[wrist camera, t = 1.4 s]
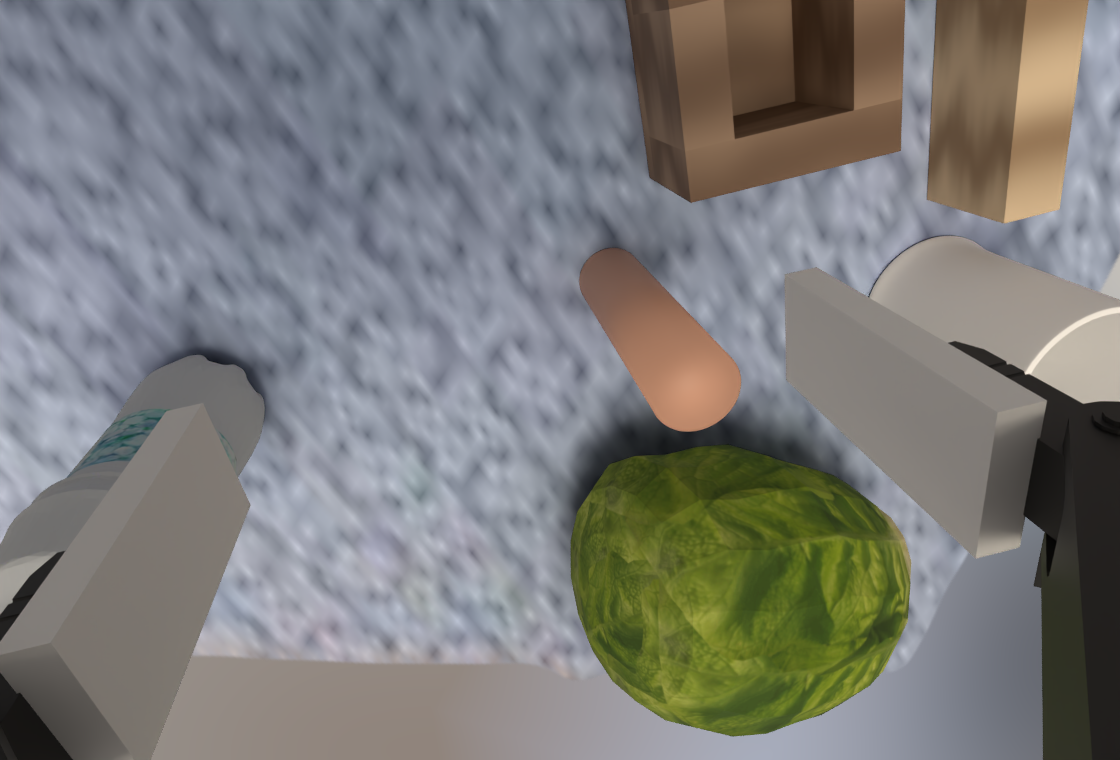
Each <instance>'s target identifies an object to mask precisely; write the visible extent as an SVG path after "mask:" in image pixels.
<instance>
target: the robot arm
mask: <svg viewBox="0 0 1120 760" xmlns="http://www.w3.org/2000/svg"><path fill="white" fill-rule="evenodd" d="M785 326H786V380H787V381H788V382H789V383H790V384H791V385H792V386H793V387H794V388H795V389H796V390H797V391H798V392H800V393H801V394H802V395H803V396H804V397H805V398H806V399H807V400H808V401H809V402H810V403H811V404H812V405H813V406H814V407H815V408H816V409H818V410H819V411H820V412H821V413H822V414H823V415H824V416H825V417H826V418H827V419H828V420H829V421H830V422H831V423H832V424H833V425H834V426H836V427H837V428H838V429H839V430H840V431H841V432H842V433H843V434H844V435H845V436H846V437H847V438H848V439H849V440H850V441H851V442H853V443H854V444H855V445H856V446H857V447H858V448H859V449H860V450H861V451H862V452H863V453H864V454H865V455H866V456H867V457H868V458H869V459H871V460H872V461H873V462H874V463H875V464H876V465H877V466H878V467H879V468H880V469H881V470H882V471H883V472H884V473H885V474H886V475H887V476H889V477H890V478H891V479H892V480H893V481H894V482H895V483H896V484H897V485H898V486H899V487H900V488H901V489H902V490H903V491H904V492H905V493H907V494H908V495H909V496H910V497H911V498H912V499H913V500H914V501H915V502H916V503H917V504H918V505H919V506H920V507H921V508H922V509H924V510H925V511H926V512H927V513H928V514H929V515H930V516H931V517H932V518H933V519H934V520H935V521H936V522H937V523H938V524H939V525H940V526H942V527H943V528H944V529H945V530H946V531H947V532H948V533H949V534H950V535H951V536H952V537H953V538H954V539H955V540H956V541H957V542H958V543H960V544H961V545H962V546H963V547H964V548H965V549H966V550H967V551H968V552H969V553H970V554H971V555H972V556H973V557H974V558H980V557H984V556H988V555H991V554H995V553H999V552H1003V551H1007V550H1011V549H1015V548H1019V547H1020V542H1021V536H1022V531H1023V525H1024V520H1025V517H1027V518H1028V519H1029V520H1030V521H1032V522H1033V523H1034V524H1036V525H1037V526H1038V527H1040V528H1041V529H1042V530H1043V531H1044V532H1045V533H1044V539H1043V543H1042V548H1041V553H1040V557H1039V562H1038V567H1037V572H1036V577H1035V582H1034V586H1036V587H1040V588H1041V595H1042V597H1041V598H1042V689H1043V690H1042V695H1043V696H1042V697H1043V760H1120V402H1118V401H1097V402H1091V403H1085V404H1083V403H1081V402H1079V401H1077V400H1076V399H1074V398H1072V397H1070V396H1068V395H1067V394H1065V393H1063V392H1061V391H1059V390H1057V389H1056V388H1054V387H1052V386H1050V385H1048V384H1047V383H1045V382H1043V381H1041V380H1039V379H1038V378H1036V377H1034V376H1032V375H1030V374H1026V375H1025V373H1024V371H1023V370H1021V369H1019V368H1018V367H1016V366H1014V365H1012V364H1007V363H1006V361H1005V360H1003V359H1001V358H999V357H998V356H996V355H994V354H992V353H990V352H988V351H987V350H985V349H982V348H978V347H975V346H971V345H968V344H964V343H961V342H957V341H953V342H949V343H947V342H945V341H943V340H941V339H940V338H938V337H936V336H934V335H933V334H931V333H929V332H927V331H926V330H924V329H922V328H921V327H919V326H917V325H915V324H914V323H912V322H910V321H908V320H907V319H905V318H903V317H902V316H900V315H898V314H896V313H895V312H893V311H891V310H889V309H888V308H886V307H884V306H882V305H881V304H879V303H877V302H876V301H874V300H872V299H870V298H869V297H867V296H865V295H863V294H862V293H860V292H858V291H857V290H855V289H853V288H851V287H850V286H848V285H846V284H844V283H843V282H841V281H839V280H837V279H836V278H834V277H832V276H831V275H829V274H827V273H825V272H824V271H822V270H820V269H818V268H817V267H816V268H811V269H807V270H802V271H798V272H793V273H789V274H785ZM249 508H250V503H249V501H248V498H247V496H246V494H245V492H244V490H243V488H242V486H241V484H240V481H239V479H238V477H237V475H236V473H235V471H234V469H233V466H232V464H231V462H230V460H229V458H228V456H227V454H226V451H225V449H224V447H223V445H222V443H221V441H220V439H219V436H218V434H217V432H216V430H215V428H214V426H213V424H212V422H211V419H210V417H209V415H208V413H207V411H206V409H205V407H204V404H203V403H200V404H196V405H191V406H187V407H182V408H178V409H173V410H169V411H166V412H165V414H164V415H163V416H162V418H161V419H160V421H159V422H158V423H157V425H156V426H155V428H154V429H153V430H152V432H151V433H150V435H149V436H148V437H147V439H146V440H145V441H144V443H143V444H142V446H141V447H140V448H139V450H138V451H137V453H136V454H135V455H134V457H133V458H132V459H131V461H130V462H129V464H128V465H127V466H126V468H125V469H124V471H123V472H122V473H121V475H120V476H119V478H118V479H117V480H116V482H115V483H114V484H113V486H112V487H111V489H110V490H109V491H108V493H107V494H106V496H105V497H104V498H103V500H102V501H101V502H100V504H99V505H98V507H97V508H96V509H95V511H94V512H93V514H92V515H91V516H90V518H89V519H88V521H87V522H86V523H85V525H84V526H83V527H82V529H81V530H80V532H79V533H78V534H77V536H76V537H75V539H74V540H73V541H72V543H71V544H70V545H69V547H68V548H67V550H66V551H62V552H57V553H56V554H55V555H54V556H53V557H51V558H50V559H49V560H48V561H47V562H45V563H44V564H43V565H42V566H41V567H40V568H38V569H37V570H36V571H35V572H34V573H32V574H31V575H30V576H29V577H28V579H27V580H26V581H25V583H24V584H23V585H22V587H21V588H20V589H19V591H18V592H17V593H16V595H15V596H14V597H13V599H12V601H13V603H10V604H8V605H7V607H6V608H5V609H4V611H3V612H2V613H1V614H0V760H151V758H152V755H153V753H154V750H155V748H156V745H157V743H158V740H159V737H160V735H161V732H162V730H163V727H164V725H165V722H166V720H167V717H168V715H169V712H170V709H171V707H172V704H173V702H174V699H175V696H176V694H177V691H178V689H179V686H180V684H181V681H182V679H183V676H184V674H185V671H186V669H187V666H188V663H189V661H190V658H191V656H192V653H193V651H194V648H195V646H196V643H197V640H198V638H199V635H200V633H201V630H202V628H203V625H204V623H205V620H206V617H207V615H208V612H209V610H210V607H211V605H212V602H213V600H214V597H215V594H216V592H217V589H218V587H219V584H220V582H221V579H222V577H223V574H224V571H225V569H226V566H227V564H228V561H229V559H230V556H231V554H232V551H233V548H234V546H235V543H236V541H237V538H238V536H239V533H240V531H241V528H242V525H243V523H244V520H245V518H246V515H247V513H248V510H249Z"/></svg>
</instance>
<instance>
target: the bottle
mask: <svg viewBox="0 0 1120 760" xmlns="http://www.w3.org/2000/svg"><path fill="white" fill-rule="evenodd" d="M200 403H203V404H204V407H205V409H206V411H207V413H208V415H209V417H210V419H211V422H212V424H213V426H214V428H215V430H216V432H217V434H218V436H219V439H220V441H221V443H222V445H223V447H224V449H225V451H226V454H227V456H228V458H229V460H230V462H231V464H232V466H233V469H234V471H235V473H236V475H237V477H238V476H239V475H240V473H241V472H242V470H243V468H244V467H245V465H246V463H247V462H248V460H249V458H250V457H251V455H252V453H253V451H254V449H255V447H256V445H257V443H258V441H259V438H260V435H261V432H262V427H263V422H264V415H265V406H264V400H263V398H262V396H261V395H260V394H259V393H258V392H255V390H254V389H253V387H252V386H251V385H250V383H249V381H248V380H247V378H246V374H245V372H244V370H243V369H241V368H240V367H238V366H236V365H233V364H231V365H221V364H218V363H214V362H211V361H208V360H207V359H206V358H205V357H204V356H202V355H191V356H187V357H184V358H182V359H180V360H178V361H175V362H173V363H170V364H168V365H165V366H163V367H161V368H159V369H157V370H155V371H153V372H152V373H151V374H149V375H148V376H147V377H146V378H145V379H144V380H143V381H142V382H141V383H140V384H139V385H138V387H137V388H136V389H135V391H134V392H133V393H132V395H131V396H130V397H129V399H128V400H127V402H126V403H125V405H124V406H123V408H122V409H121V411H120V413H119V414H118V416H117V417H116V419H115V420H114V422H113V423H112V425H111V426H110V427H109V428H108V429H107V430H106V431H105V433H104V434H103V435H102V436H101V437H100V438H99V440H98V441H97V442H96V443H95V444H94V446H93V447H92V448H91V449H90V450H89V451H88V453H87V454H86V455H85V456H84V457H83V459H82V460H81V461H80V462H79V463H78V465H77V466H76V467H75V468H74V469H73V470H72V472H71V473H70V474H69V475H68V476H67V478H65V479H63V480H61V481H59V482H57V483H55V484H53V485H51V486H50V487H48V488H47V489H46V490H44V491H43V492H42V493H40V495H39V496H38V497H37V498H36V499H35V500H34V501H33V502H32V504H31V505H30V506H29V507H28V508H26V509H25V510H24V511H22V512H21V513H20V514H19V515H18V516H17V517H16V518H15V519H14V521H13V522H12V523H11V525H10V526H9V528H8V530H7V532H6V534H5V536H4V539H3V541H2V542H1V544H0V614H1V613H2V612H3V611H4V609H5V608H6V607H7V605H8V604H10V603H13V601H12V599H13V597H14V596H15V595H16V593H17V592H18V591H19V589H20V588H21V587H22V585H23V584H24V583H25V581H26V580H27V579H28V577H29V576H30V575H31V574H32V573H34V572H35V571H36V570H37V569H38V568H40V567H41V566H42V565H43V564H44V563H45V562H47V561H48V560H49V559H50V558H51V557H53V556H54V555H55V554H56V553H57V552H62V551H66V550H67V548H68V547H69V545H70V544H71V543H72V541H73V540H74V539H75V537H76V536H77V534H78V533H79V532H80V530H81V529H82V527H83V526H84V525H85V523H86V522H87V521H88V519H89V518H90V516H91V515H92V514H93V512H94V511H95V509H96V508H97V507H98V505H99V504H100V502H101V501H102V500H103V498H104V497H105V496H106V494H107V493H108V491H109V490H110V489H111V487H112V486H113V484H114V483H115V482H116V480H117V479H118V478H119V476H120V475H121V473H122V472H123V471H124V469H125V468H126V466H127V465H128V464H129V462H130V461H131V459H132V458H133V457H134V455H135V454H136V453H137V451H138V450H139V448H140V447H141V446H142V444H143V443H144V441H145V440H146V439H147V437H148V436H149V435H150V433H151V432H152V430H153V429H154V428H155V426H156V425H157V423H158V422H159V421H160V419H161V418H162V416H163V415H164V414H165V412H166V411H169V410H173V409H178V408H182V407H187V406H191V405H196V404H200Z"/></svg>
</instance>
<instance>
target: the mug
mask: <svg viewBox="0 0 1120 760" xmlns="http://www.w3.org/2000/svg"><path fill="white" fill-rule="evenodd" d="M869 298H870V299H872V300H874V301H876V302H877V303H879V304H881V305H882V306H884V307H886V308H888V309H889V310H891V311H893V312H895V313H896V314H898V315H900V316H902V317H903V318H905V319H907V320H908V321H910V322H912V323H914V324H915V325H917V326H919V327H921V328H922V329H924V330H926V331H927V332H929V333H931V334H933V335H934V336H936V337H938V338H940V339H941V340H943V341H945V342H947V343H949V342H953V341H957V342H961V343H964V344H968V345H971V346H975V347H978V348H982V349H985V350H987V351H988V352H990V353H992V354H994V355H996V356H998V357H999V358H1001V359H1003V360H1005V361H1006V363H1007V364H1012V365H1014V366H1016V367H1018V368H1019V369H1021V370H1023V371H1024V373H1025V375H1026V374H1030V375H1032V376H1034V377H1036V378H1038V379H1039V380H1041V381H1043V382H1045V383H1047V384H1048V385H1050V386H1052V387H1054V388H1056V389H1057V390H1059V391H1061V392H1063V393H1065V394H1067V395H1068V396H1070V397H1072V398H1074V399H1076V400H1077V401H1079V402H1081V403H1083V404H1085V403H1091V402H1097V401H1118V402H1120V300H1119V299H1116V298H1113V297H1110V296H1108V295H1105V294H1102V293H1100V292H1097V291H1094V290H1092V289H1089V288H1086V287H1084V286H1081V285H1078V284H1075V283H1073V282H1070V281H1067V280H1065V279H1062V278H1059V277H1057V276H1054V275H1051V274H1048V273H1046V272H1043V271H1040V270H1038V269H1035V268H1032V267H1029V266H1027V265H1024V264H1021V263H1019V262H1016V261H1013V260H1011V259H1008V258H1005V257H1002V256H1000V255H997V254H995V253H992V252H990V251H987V250H985V249H984V248H982V247H981V246H980V245H979V244H977V243H975V242H974V241H972V240H969V239H967V238H963V237H959V236H939V237H934V238H931V239H927V240H925V241H922V242H920V243H918V244H916V245H914V246H912V247H910V248H909V249H907V250H906V251H904V252H903V253H901V254H900V255H899V256H898V257H897V258H896V259H894V260H893V261H892V262H891V263H890V264H889V265H888V267H887V268H886V269H885V270H884V271H883V273H882V274H881V275H880V277H879V278H878V280H877V282H876V283H875V285H874V287H873V289H872V291H871V294H870V296H869Z"/></svg>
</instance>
